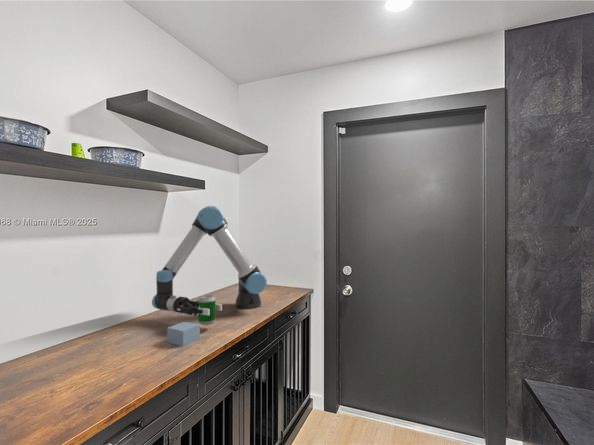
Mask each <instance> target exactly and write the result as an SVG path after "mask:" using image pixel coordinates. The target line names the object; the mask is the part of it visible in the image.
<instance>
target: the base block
mask: <svg viewBox="0 0 594 445" xmlns="http://www.w3.org/2000/svg"><path fill="white" fill-rule="evenodd" d="M166 328H167V330H166V332H167V333H166V334H167V338H166V339H167V341H166V342H167V343H169V344H172V345H175V346H176V345H177V346H181V347H184V346H187V345H189V344H191V343H194V342H196V341H199V340H200V339H201V337H200V336H201V333H200V332H201V331H200V330H201V324H200V323H199V324H198V323H194V322H193V323H192V322H188V321H182V322H179V323H175V325H171V326H168V327H166Z"/></svg>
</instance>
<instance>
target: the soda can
mask: <svg viewBox="0 0 594 445" xmlns="http://www.w3.org/2000/svg"><path fill="white" fill-rule="evenodd" d="M197 300H198V304H199V308H206V309H210V315H209V316H208V315H202V314H198V323H199V324H200V325H203V326H209V325H213V324H215V322H216V320H217V316H216V314H217V312H216V311H217V310H216V304H217V303H216V298H215V296H214V295H210V294H209V295H208V294H207V295H202V296H200V297H199V299H197Z"/></svg>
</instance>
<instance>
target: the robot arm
mask: <svg viewBox="0 0 594 445" xmlns="http://www.w3.org/2000/svg"><path fill="white" fill-rule="evenodd" d="M228 226H229V223H228V221H227V220H226V219H225V217H224V214H223V212H222V210H221V209H220V208H218V207H216V206H213V205H208V206H205V207H203V208H202V209H201V210H199V212H198V213H197V215H196V217H195V219H194V221H193V222H192V224H191V228H190V230H189V231H188V232H187V233H186V236H184V238H183V239H182V241H181V242H180V244H179V245H178V247H177V248H176V250H175V251H174V252H173V254H172V255H171V257H170V258H169V259H168V261H167V262H166V264H165V265H164V266H163V267H162V269H161V270H158V271H157V272H156V276H155V280H156V281H155V282H156V294H155V295H154V296H152V297H153V298H152V300H151V305H152V307H153V308H154V309H156V310H160V311H168V312H172V313H178V314H185V315H189V316H192V315H193V316H198V315H199V314H202V315H208V316H209V315H210V309H206V308H199V304H198V300H199V299H197V300H196V301H194V300H190V298H188V297H187V296H180V295H174V293H173V292H174V288H173V287H174V286H173V285H174V284H173V283H174V282H173V281H174V279H175V277H176V276H177V274H178V273H179V271H180V269H181V268H182V267H183V265H184V264H185V263H186V261H187V260H188V258H189V256H191V254H192V253H193V251H194V250H195V249H196V247H197V246H198V244H199V242H201V241H202V239H203V237H204V236H205V235H208V236H209V237H212V238H214V240H215V241H216V243H217V244H218V246H219V247H220V249H221V250H222V252H223V253H224V254H225V256H226V257H227V259H228V260H229V261H230V263H231V264H232V266H233V267H234V269H235V270H236V271H237V274H238V275H237V277H238V293H237V296H236V301H235V307H236V308H238V309H243V310H244V309H248V310H249V309H256V308H259V307H261V306H262V300H261V295H260V293H262V292H264V291H265V289H266V287H267V284H268V280H267V277H266V275H265V274H264V273H262V272H261V270H260V269H259V266H257V264H256V263H252V262H251V261H250V259H249V258H248V256H247V255H246V253H245V252H244V251H243V249H242V247H241V245H239V243H238V241H237V240H236V239H235V237H234V235H233V234H232V232H231V231H230V229H229V228H228ZM215 304H216V311H219V312H220V311H223V304H220V303H215Z"/></svg>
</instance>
